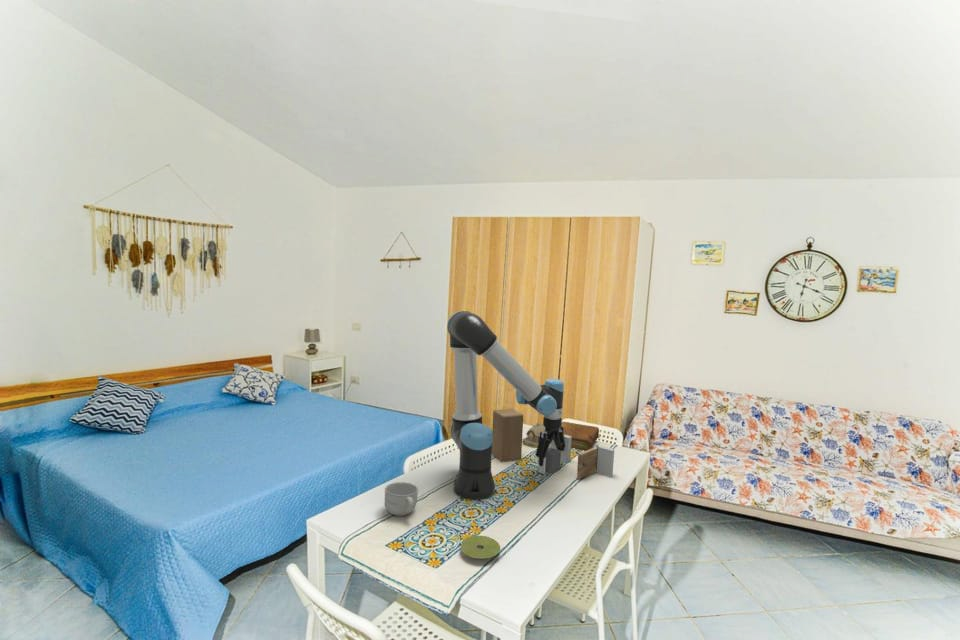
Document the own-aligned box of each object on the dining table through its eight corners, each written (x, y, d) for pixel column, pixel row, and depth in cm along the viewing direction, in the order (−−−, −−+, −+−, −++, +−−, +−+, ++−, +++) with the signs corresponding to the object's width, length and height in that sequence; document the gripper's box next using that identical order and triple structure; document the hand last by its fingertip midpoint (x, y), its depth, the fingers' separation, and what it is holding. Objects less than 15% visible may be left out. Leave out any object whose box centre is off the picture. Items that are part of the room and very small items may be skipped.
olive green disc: (487, 538, 138) (487, 531, 138) (507, 558, 128) (507, 551, 128) (453, 547, 132) (453, 540, 132) (471, 569, 123) (471, 562, 122)
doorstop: (551, 473, 186) (552, 454, 186) (539, 469, 190) (540, 450, 190) (559, 469, 191) (560, 451, 190) (547, 465, 195) (548, 447, 194)
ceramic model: (536, 437, 231) (537, 417, 230) (554, 443, 223) (555, 422, 222) (518, 443, 220) (519, 423, 219) (537, 450, 213) (538, 428, 212)
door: (600, 471, 190) (602, 446, 189) (582, 480, 181) (583, 453, 180) (595, 469, 191) (596, 444, 190) (576, 478, 182) (578, 451, 181)
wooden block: (490, 453, 205) (492, 410, 203) (510, 451, 209) (512, 408, 208) (501, 462, 196) (503, 416, 194) (521, 459, 200) (523, 414, 198)
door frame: (609, 477, 185) (611, 450, 184) (549, 456, 205) (551, 432, 204) (612, 475, 187) (614, 449, 186) (552, 455, 206) (554, 431, 205)
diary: (589, 453, 213) (590, 441, 212) (550, 445, 220) (551, 434, 220) (598, 438, 234) (599, 427, 233) (562, 431, 241) (562, 421, 241)
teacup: (381, 505, 155) (382, 482, 154) (413, 501, 159) (414, 478, 158) (388, 526, 142) (389, 501, 141) (423, 521, 146) (424, 497, 145)
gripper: (543, 425, 178) (540, 480, 179) (575, 413, 195) (572, 464, 197) (528, 420, 183) (525, 474, 185) (560, 410, 200) (557, 459, 202)
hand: (549, 469), depth 191 cm, fingers open, 11 cm apart
